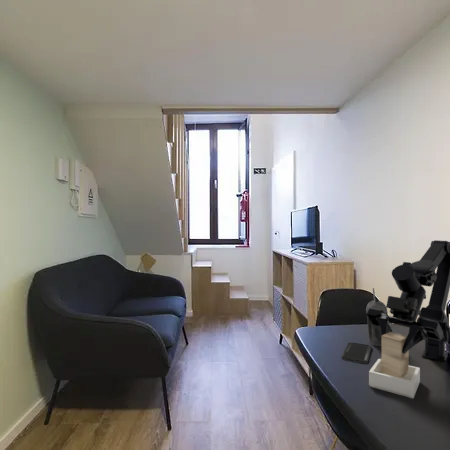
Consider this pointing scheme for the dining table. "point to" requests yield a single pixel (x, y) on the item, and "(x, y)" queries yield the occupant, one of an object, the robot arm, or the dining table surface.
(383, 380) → the box
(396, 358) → the wood block
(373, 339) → the beverage cup
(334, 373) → the dining table surface
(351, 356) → the phone
